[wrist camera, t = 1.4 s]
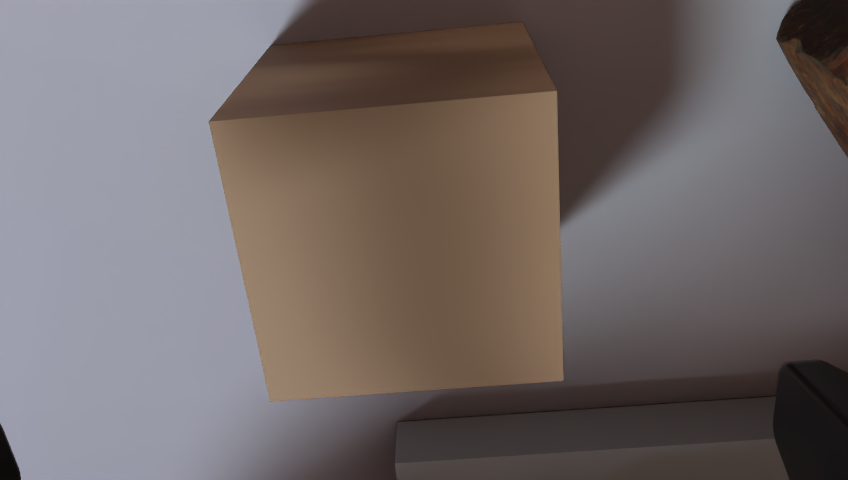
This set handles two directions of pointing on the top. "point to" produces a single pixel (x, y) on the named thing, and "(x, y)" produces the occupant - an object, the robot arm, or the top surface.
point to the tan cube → (398, 212)
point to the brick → (820, 58)
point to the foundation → (598, 444)
